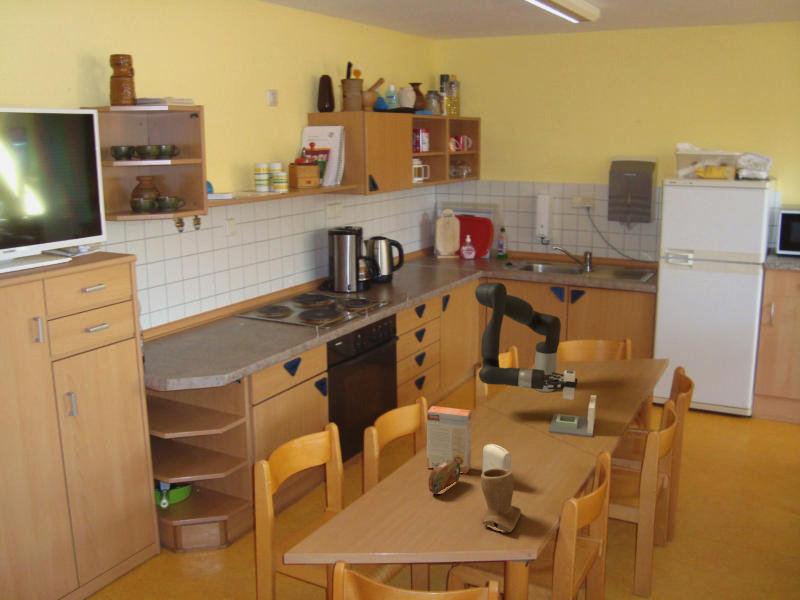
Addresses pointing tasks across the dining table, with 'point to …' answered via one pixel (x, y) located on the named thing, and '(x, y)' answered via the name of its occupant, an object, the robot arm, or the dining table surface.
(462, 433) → the cracker box
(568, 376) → the block
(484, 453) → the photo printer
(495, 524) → the stone cup
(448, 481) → the tin
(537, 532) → the dining table surface
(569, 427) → the wall outlet
